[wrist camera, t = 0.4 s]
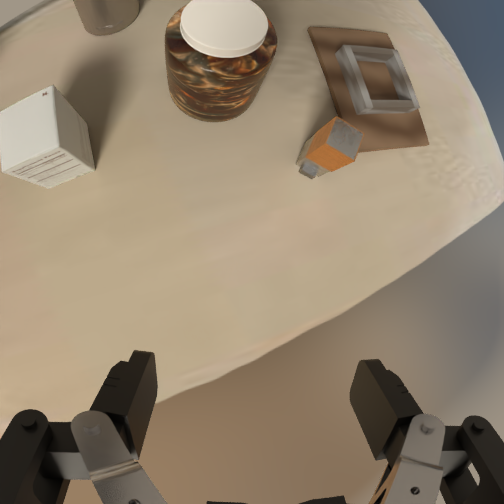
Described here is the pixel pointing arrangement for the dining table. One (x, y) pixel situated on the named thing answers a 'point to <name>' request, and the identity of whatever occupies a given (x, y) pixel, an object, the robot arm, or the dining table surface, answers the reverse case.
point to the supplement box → (44, 140)
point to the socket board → (370, 87)
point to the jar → (218, 57)
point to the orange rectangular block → (330, 148)
